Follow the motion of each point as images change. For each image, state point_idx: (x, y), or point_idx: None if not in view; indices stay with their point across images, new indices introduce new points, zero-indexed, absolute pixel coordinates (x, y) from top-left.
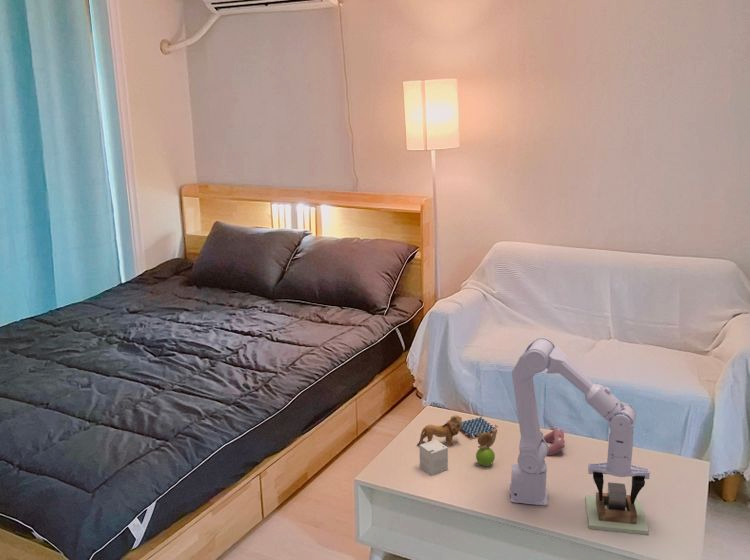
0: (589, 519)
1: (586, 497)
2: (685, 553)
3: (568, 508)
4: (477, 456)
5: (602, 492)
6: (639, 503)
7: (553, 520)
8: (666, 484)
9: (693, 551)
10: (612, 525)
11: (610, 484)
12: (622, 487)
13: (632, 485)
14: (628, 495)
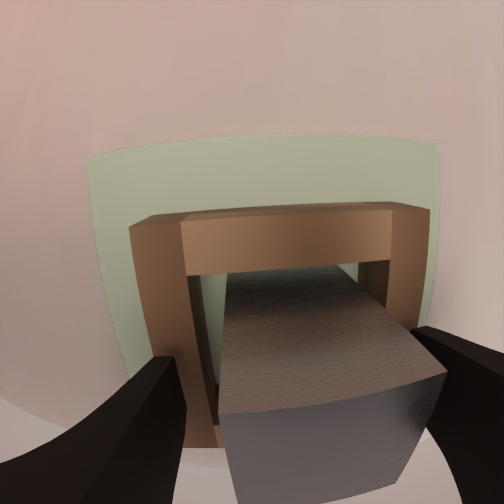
0: None
1: (94, 193)
2: None
3: (40, 296)
4: None
5: (174, 485)
6: (431, 187)
7: (30, 384)
8: (486, 11)
9: None
10: None
11: (253, 450)
12: (393, 445)
13: (492, 422)
14: (406, 214)
